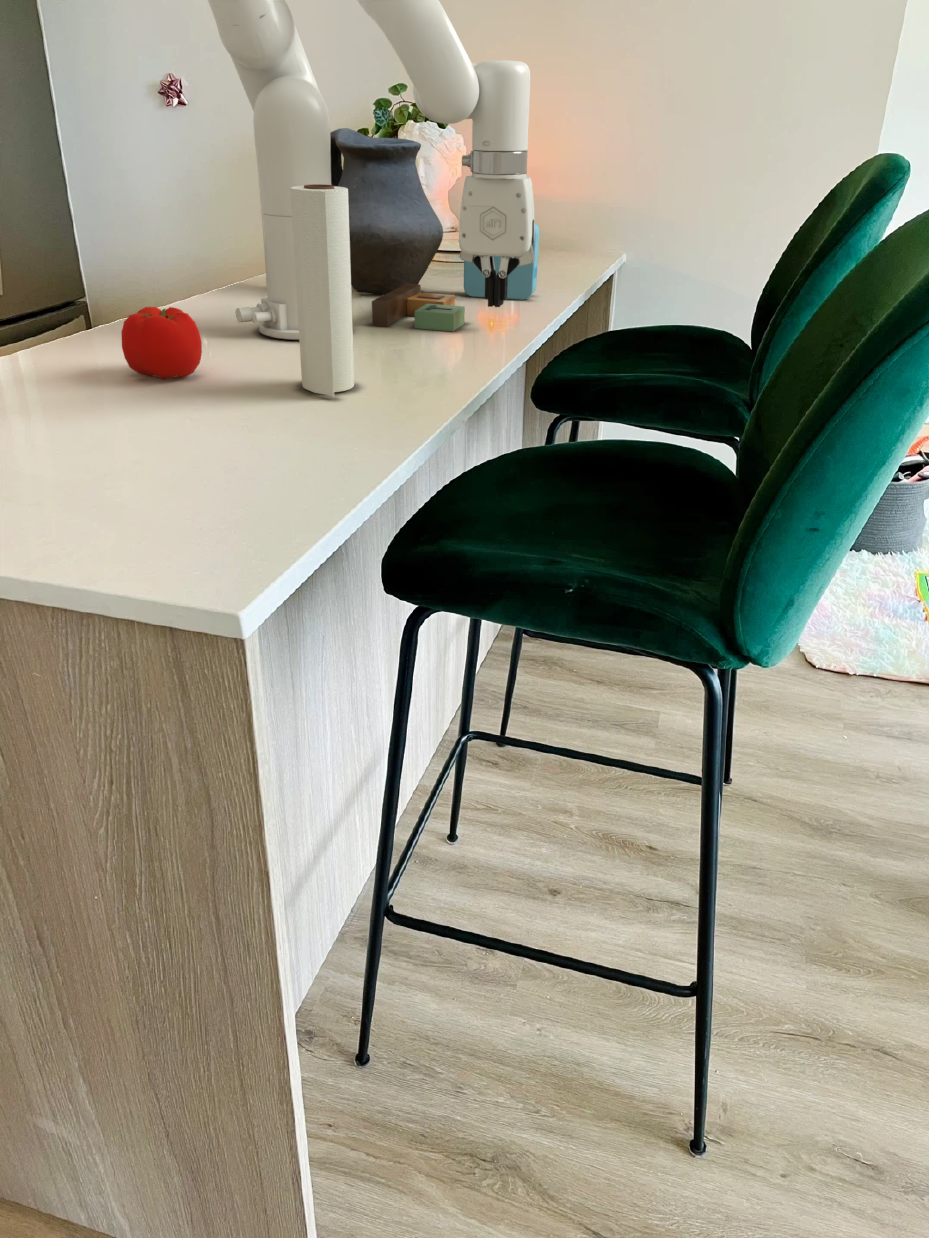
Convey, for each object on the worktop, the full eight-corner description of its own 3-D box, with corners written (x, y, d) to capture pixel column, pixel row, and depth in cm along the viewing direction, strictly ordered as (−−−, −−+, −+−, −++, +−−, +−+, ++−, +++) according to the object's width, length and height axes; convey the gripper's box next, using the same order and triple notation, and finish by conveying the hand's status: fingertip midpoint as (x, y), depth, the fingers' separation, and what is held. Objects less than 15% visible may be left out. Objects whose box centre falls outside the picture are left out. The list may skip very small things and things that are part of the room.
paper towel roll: (318, 378, 113) (308, 182, 103) (363, 384, 111) (357, 185, 101) (286, 393, 107) (273, 186, 97) (334, 399, 105) (325, 190, 95)
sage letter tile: (453, 331, 138) (453, 313, 136) (414, 328, 139) (414, 310, 138) (464, 323, 143) (465, 305, 141) (426, 320, 144) (426, 302, 143)
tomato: (167, 389, 107) (159, 321, 104) (111, 377, 111) (101, 312, 108) (223, 372, 115) (217, 308, 111) (169, 361, 118) (161, 299, 115)
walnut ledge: (387, 326, 139) (387, 302, 138) (372, 325, 140) (371, 301, 138) (420, 307, 153) (420, 284, 151) (406, 306, 153) (406, 283, 152)
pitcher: (396, 306, 153) (394, 133, 141) (293, 291, 163) (283, 128, 151) (463, 288, 168) (466, 131, 156) (365, 275, 178) (361, 127, 166)
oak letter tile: (443, 318, 145) (443, 301, 144) (406, 315, 147) (406, 298, 146) (454, 311, 150) (455, 294, 149) (419, 308, 152) (419, 291, 151)
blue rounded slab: (536, 296, 164) (540, 221, 158) (532, 300, 160) (536, 224, 154) (468, 292, 166) (470, 218, 160) (462, 296, 162) (464, 221, 156)
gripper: (438, 165, 127) (439, 307, 136) (548, 169, 123) (540, 313, 132) (454, 162, 133) (453, 297, 142) (558, 165, 130) (551, 304, 139)
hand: (495, 305), depth 137 cm, fingers closed
